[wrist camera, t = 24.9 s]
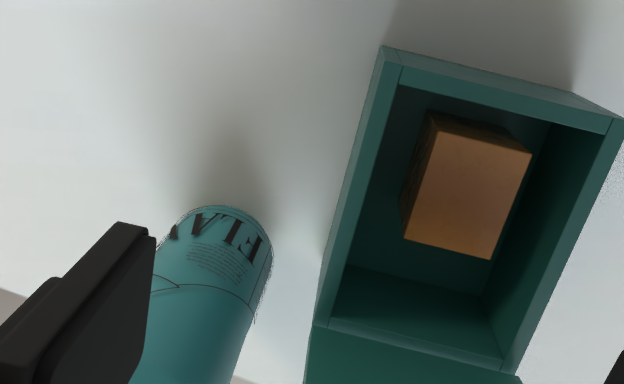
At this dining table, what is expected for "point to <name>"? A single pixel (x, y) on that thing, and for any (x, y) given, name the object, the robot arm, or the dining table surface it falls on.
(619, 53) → the dining table surface
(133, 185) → the dining table surface
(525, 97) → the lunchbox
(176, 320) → the beverage bottle
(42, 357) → the robot arm
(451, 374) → the lunchbox lid
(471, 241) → the block
